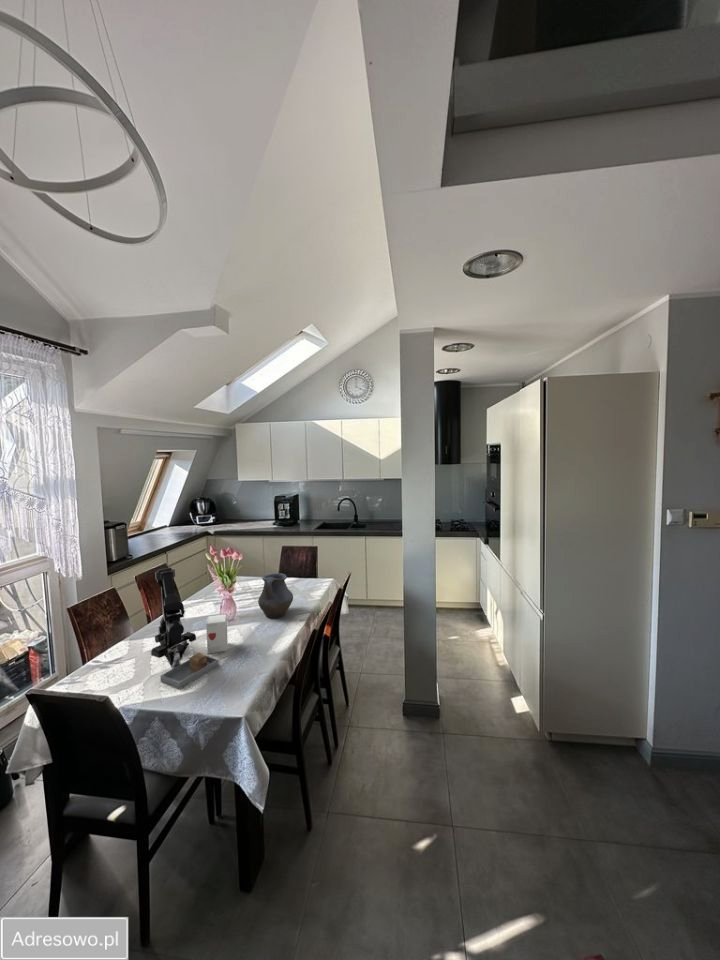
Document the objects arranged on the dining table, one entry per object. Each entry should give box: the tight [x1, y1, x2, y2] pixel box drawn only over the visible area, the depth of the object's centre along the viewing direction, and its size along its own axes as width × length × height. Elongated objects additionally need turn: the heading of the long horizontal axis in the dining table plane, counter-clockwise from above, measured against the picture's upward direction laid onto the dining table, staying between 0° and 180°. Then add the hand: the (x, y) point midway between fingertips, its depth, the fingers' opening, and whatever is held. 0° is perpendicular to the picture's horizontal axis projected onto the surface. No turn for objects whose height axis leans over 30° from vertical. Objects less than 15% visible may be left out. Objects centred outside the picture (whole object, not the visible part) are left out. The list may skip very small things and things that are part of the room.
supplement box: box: [205, 614, 229, 654], centre depth 190 cm, size 9×9×15 cm
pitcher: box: [257, 572, 294, 619], centre depth 228 cm, size 21×22×25 cm
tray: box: [160, 655, 220, 690], centre depth 169 cm, size 20×12×3 cm, turn 152°
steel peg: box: [170, 649, 182, 669], centre depth 173 cm, size 4×4×6 cm
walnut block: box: [188, 652, 208, 671], centre depth 172 cm, size 5×5×5 cm
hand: (175, 662), depth 174 cm, fingers closed on steel peg, 4 cm apart
